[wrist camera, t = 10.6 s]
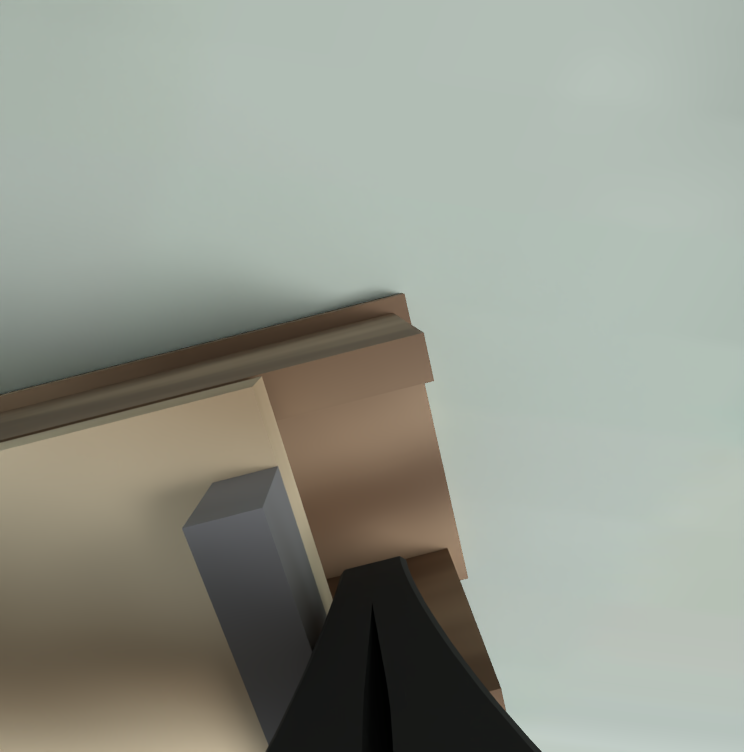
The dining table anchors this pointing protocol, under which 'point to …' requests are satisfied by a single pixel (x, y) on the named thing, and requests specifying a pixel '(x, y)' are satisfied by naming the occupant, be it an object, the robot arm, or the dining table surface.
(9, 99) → the dining table surface
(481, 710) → the robot arm
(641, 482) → the dining table surface
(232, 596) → the lid
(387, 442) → the brown wooden box
